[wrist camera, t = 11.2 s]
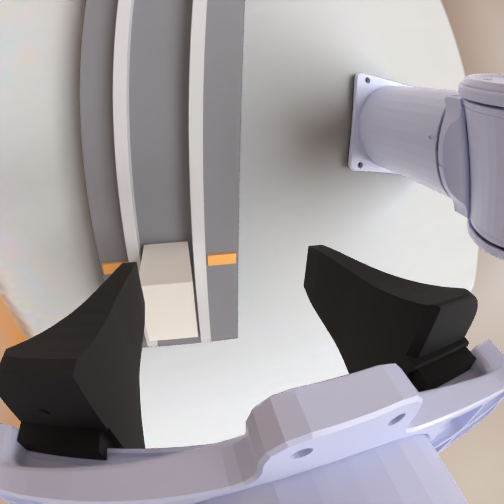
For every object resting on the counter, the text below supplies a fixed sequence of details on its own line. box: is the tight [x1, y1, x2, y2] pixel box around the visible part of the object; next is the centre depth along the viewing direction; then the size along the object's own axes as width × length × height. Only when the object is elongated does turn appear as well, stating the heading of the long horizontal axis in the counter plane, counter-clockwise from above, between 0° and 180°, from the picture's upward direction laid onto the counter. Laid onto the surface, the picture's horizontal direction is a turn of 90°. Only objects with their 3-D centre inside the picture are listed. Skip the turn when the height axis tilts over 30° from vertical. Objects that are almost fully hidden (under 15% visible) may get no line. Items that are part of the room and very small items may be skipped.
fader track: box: [80, 0, 245, 348], centre depth 18 cm, size 10×30×3 cm, turn 178°
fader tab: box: [139, 241, 198, 341], centre depth 18 cm, size 3×4×5 cm
